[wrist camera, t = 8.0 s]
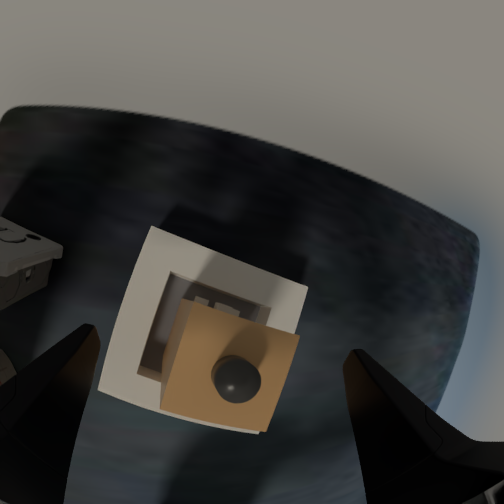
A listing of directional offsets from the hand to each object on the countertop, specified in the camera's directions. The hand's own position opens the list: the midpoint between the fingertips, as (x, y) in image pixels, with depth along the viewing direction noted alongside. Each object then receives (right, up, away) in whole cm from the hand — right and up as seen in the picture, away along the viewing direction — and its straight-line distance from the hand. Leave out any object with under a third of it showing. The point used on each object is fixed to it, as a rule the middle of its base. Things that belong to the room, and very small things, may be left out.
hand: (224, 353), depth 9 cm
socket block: (-3, -4, +13) cm, 14 cm away
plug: (-3, -4, +13) cm, 13 cm away
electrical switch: (-19, +3, +9) cm, 22 cm away
